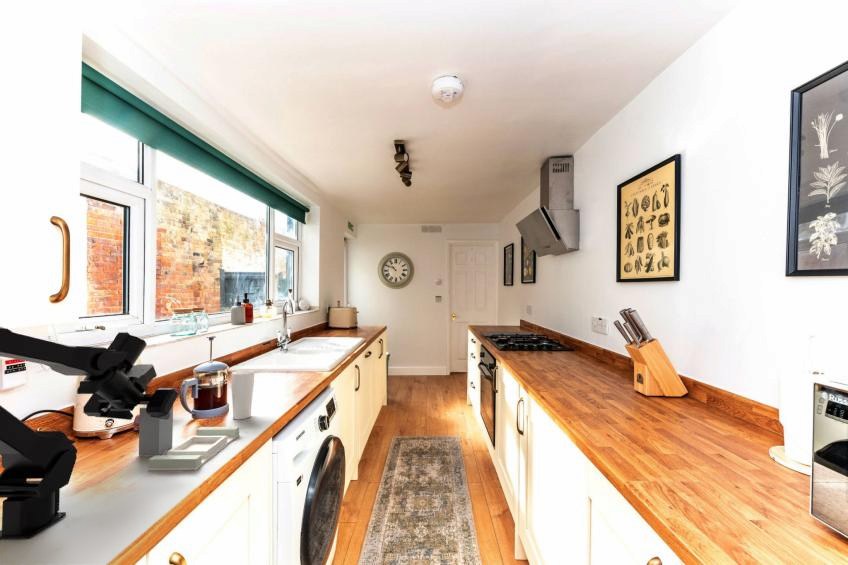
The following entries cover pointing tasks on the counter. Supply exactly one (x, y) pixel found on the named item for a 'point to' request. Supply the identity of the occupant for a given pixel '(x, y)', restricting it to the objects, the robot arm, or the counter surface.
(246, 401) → the drinking glass
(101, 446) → the counter surface
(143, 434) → the tall grey pillar block
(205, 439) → the tray
